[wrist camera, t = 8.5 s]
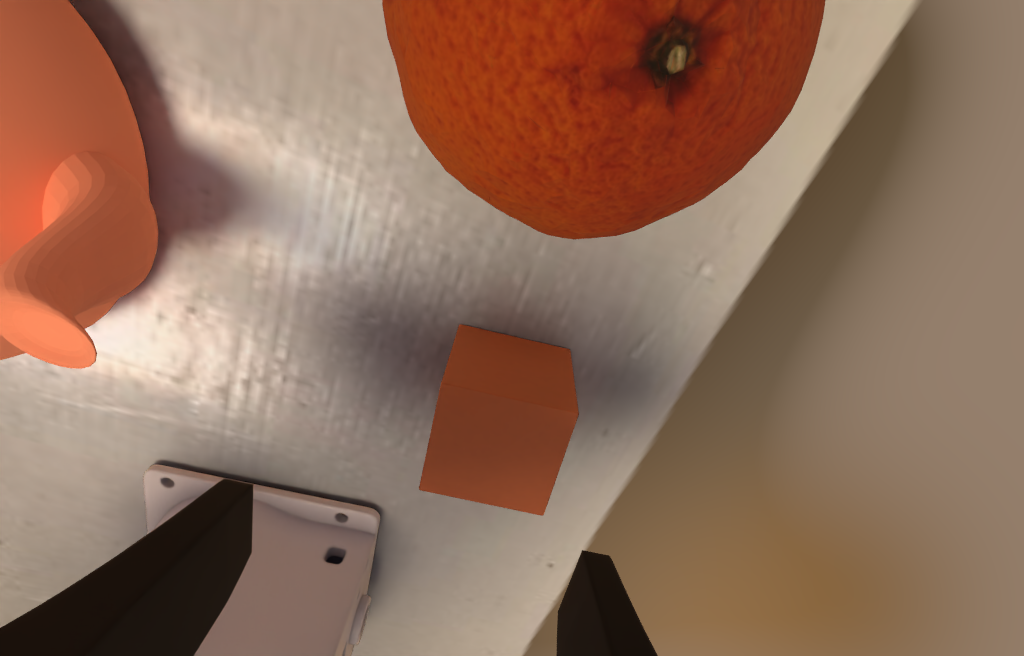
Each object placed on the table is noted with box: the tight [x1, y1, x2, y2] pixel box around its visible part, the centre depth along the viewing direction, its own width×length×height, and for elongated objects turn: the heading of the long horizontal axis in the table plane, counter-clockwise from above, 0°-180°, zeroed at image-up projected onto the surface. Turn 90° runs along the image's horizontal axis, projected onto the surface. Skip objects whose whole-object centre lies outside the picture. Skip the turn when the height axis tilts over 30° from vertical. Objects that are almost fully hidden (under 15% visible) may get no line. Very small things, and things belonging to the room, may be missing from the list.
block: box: [419, 324, 579, 515], centre depth 17 cm, size 4×4×4 cm
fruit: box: [382, 0, 825, 239], centre depth 11 cm, size 9×9×8 cm
